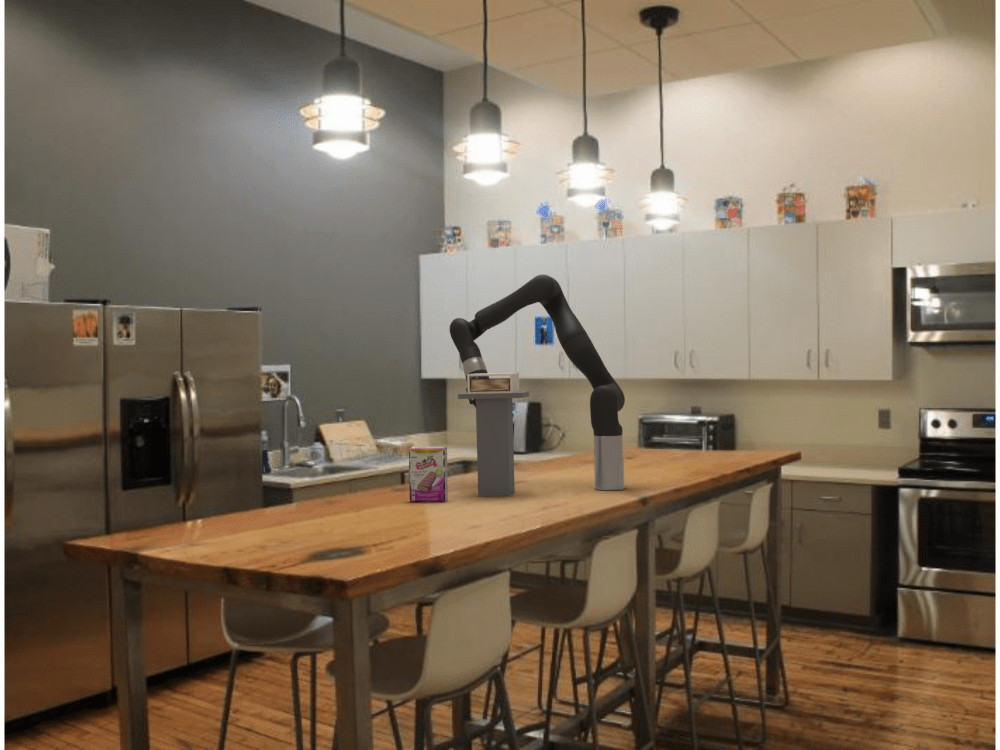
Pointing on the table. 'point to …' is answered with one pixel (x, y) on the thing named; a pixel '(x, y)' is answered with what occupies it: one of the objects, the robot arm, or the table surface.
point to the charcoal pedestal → (495, 442)
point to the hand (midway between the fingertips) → (489, 417)
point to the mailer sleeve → (513, 388)
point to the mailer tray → (490, 384)
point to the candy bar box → (428, 474)
